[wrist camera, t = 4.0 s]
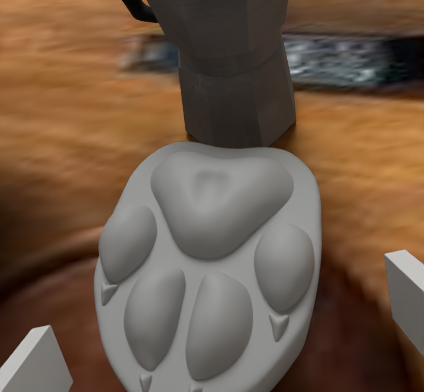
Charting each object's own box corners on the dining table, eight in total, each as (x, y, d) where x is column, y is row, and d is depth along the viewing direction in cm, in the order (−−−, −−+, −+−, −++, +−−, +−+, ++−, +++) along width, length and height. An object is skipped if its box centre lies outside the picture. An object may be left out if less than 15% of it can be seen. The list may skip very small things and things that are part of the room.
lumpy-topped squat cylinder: (320, 213, 25) (334, 130, 17) (299, 441, 19) (306, 465, 11) (173, 196, 27) (130, 119, 20) (115, 393, 22) (24, 386, 14)
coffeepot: (339, 84, 30) (394, -266, 14) (301, 180, 26) (319, -148, 11) (172, 54, 35) (80, -225, 20) (121, 130, 31) (-41, -137, 16)
